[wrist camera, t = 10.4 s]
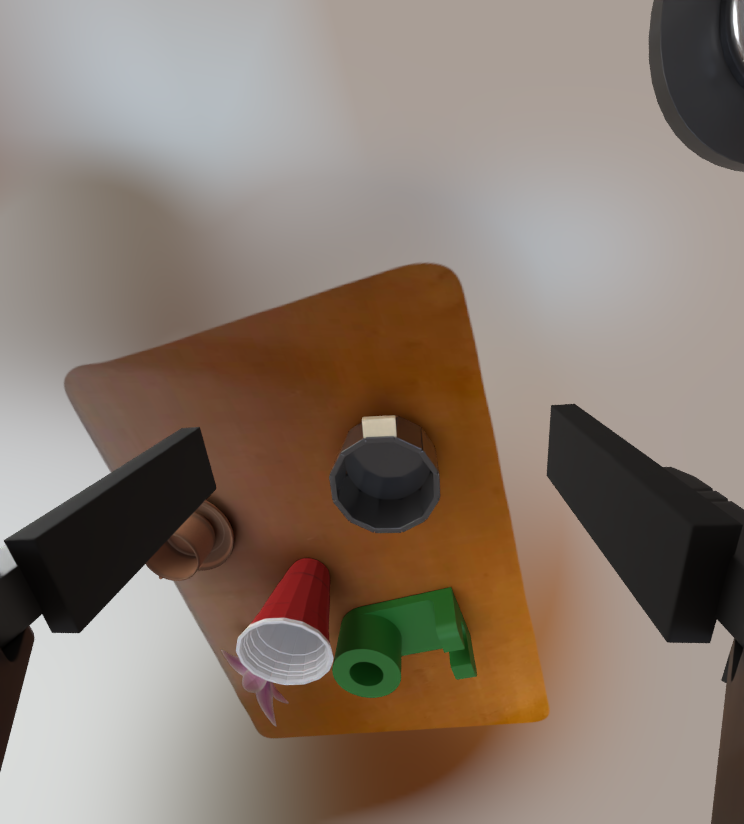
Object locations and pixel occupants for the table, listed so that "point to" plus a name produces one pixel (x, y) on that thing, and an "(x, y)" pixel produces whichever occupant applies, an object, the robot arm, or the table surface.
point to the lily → (257, 686)
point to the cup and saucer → (195, 545)
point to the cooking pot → (386, 475)
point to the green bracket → (399, 641)
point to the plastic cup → (291, 628)
